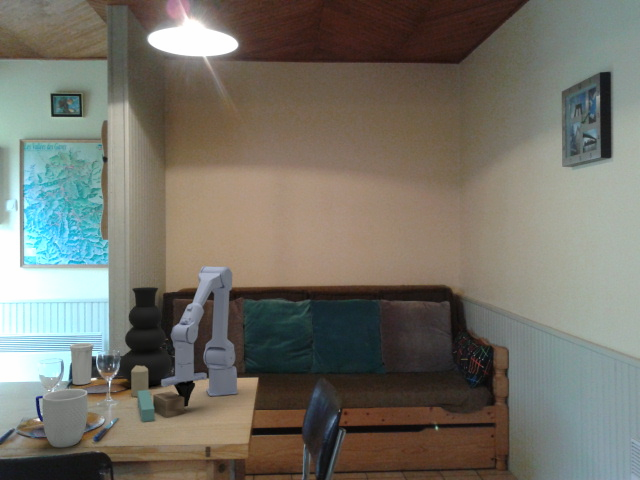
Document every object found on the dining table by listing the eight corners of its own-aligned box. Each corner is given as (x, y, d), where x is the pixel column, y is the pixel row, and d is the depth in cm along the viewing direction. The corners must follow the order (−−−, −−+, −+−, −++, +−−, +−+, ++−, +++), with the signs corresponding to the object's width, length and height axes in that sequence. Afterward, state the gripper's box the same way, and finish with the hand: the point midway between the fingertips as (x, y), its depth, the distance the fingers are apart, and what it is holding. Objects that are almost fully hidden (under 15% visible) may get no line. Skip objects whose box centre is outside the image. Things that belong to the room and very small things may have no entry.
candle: (150, 392, 204) (150, 364, 204) (144, 397, 199) (144, 367, 199) (135, 392, 205) (135, 363, 205) (128, 396, 199) (128, 367, 199)
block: (171, 406, 188) (171, 391, 188) (184, 413, 181) (184, 397, 181) (153, 410, 184) (153, 394, 184) (166, 417, 177) (166, 401, 177)
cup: (65, 385, 213) (65, 346, 213) (78, 380, 221) (77, 342, 221) (85, 386, 212) (85, 347, 212) (98, 381, 220) (97, 343, 220)
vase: (178, 377, 225) (178, 286, 225) (160, 390, 207) (160, 291, 206) (132, 376, 227) (131, 285, 227) (110, 389, 209) (110, 290, 208)
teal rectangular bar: (148, 400, 195) (148, 389, 195) (154, 420, 175) (154, 408, 175) (137, 401, 194) (137, 390, 194) (142, 421, 173) (142, 410, 173)
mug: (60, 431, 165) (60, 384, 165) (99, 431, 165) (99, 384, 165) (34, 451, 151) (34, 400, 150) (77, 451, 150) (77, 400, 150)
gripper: (199, 357, 192) (199, 398, 192) (157, 363, 183) (157, 407, 183) (209, 360, 187) (210, 403, 187) (166, 367, 177) (167, 412, 178)
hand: (184, 405), depth 185 cm, fingers closed
